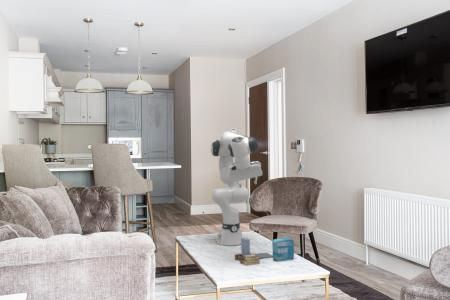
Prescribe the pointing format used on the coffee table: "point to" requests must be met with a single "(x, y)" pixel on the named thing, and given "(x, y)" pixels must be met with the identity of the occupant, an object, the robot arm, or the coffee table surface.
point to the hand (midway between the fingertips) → (248, 185)
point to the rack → (240, 257)
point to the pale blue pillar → (245, 246)
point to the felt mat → (263, 255)
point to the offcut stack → (250, 260)
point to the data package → (283, 249)
